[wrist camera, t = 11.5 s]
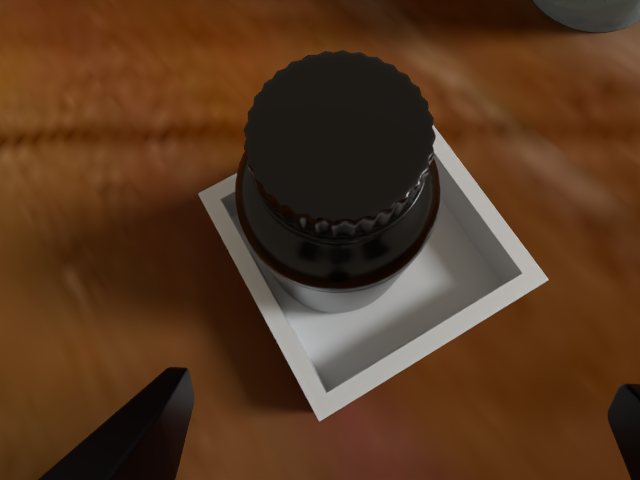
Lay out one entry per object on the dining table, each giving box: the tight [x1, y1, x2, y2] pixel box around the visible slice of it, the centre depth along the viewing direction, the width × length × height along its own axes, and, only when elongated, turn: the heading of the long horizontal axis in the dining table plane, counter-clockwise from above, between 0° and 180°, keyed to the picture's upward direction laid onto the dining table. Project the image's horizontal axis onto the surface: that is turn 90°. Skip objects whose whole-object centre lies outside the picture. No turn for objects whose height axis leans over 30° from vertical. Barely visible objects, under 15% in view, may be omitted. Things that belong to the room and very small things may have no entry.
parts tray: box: [198, 125, 549, 422], centre depth 21 cm, size 12×12×4 cm
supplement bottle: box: [235, 50, 441, 313], centre depth 16 cm, size 7×7×12 cm
